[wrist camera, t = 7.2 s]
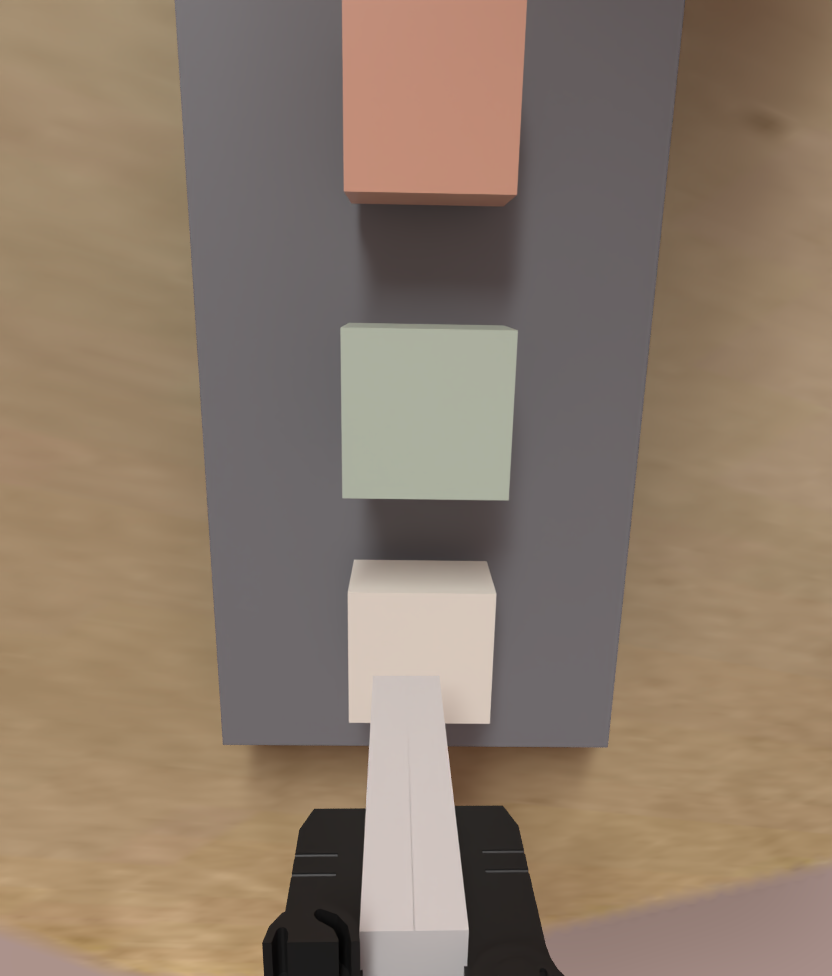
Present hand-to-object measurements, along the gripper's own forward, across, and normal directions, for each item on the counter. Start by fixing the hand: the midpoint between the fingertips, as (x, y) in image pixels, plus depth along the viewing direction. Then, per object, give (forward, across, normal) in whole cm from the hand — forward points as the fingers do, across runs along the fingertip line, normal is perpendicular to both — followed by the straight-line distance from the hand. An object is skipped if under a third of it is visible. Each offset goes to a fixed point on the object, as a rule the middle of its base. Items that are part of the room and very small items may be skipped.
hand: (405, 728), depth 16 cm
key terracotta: (+9, +1, +14) cm, 16 cm away
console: (+10, +1, +7) cm, 12 cm away
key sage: (+8, +1, +7) cm, 10 cm away
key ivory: (+9, +1, 0) cm, 9 cm away
